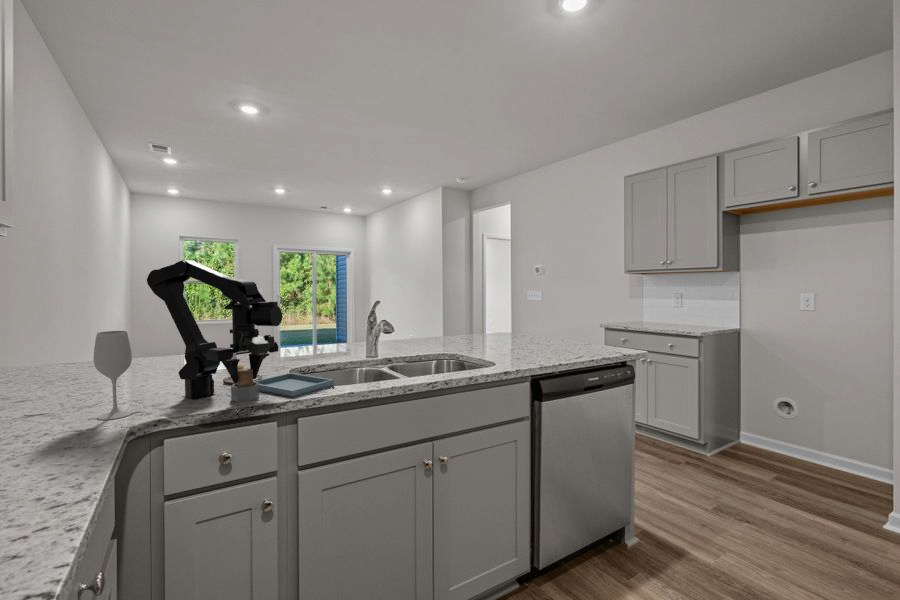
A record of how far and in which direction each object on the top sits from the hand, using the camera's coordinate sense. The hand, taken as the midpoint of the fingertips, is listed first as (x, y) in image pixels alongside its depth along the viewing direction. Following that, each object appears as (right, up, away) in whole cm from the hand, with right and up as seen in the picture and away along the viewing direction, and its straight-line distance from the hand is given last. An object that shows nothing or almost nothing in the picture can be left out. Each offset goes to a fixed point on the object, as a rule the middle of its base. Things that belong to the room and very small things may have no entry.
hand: (245, 380), depth 124 cm
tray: (+8, -5, +13) cm, 16 cm away
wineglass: (-26, -6, -13) cm, 30 cm away
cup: (0, -6, 0) cm, 6 cm away
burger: (-11, -5, +22) cm, 25 cm away
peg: (0, -5, 0) cm, 5 cm away
